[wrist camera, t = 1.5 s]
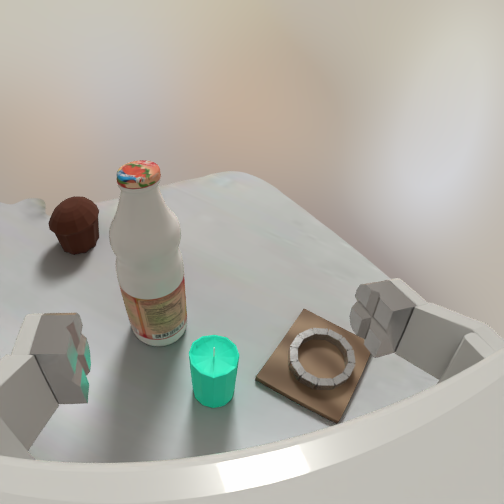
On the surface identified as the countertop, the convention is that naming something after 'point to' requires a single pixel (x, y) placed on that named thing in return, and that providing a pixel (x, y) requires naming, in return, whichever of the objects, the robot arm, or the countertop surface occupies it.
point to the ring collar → (311, 379)
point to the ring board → (315, 368)
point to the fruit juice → (148, 256)
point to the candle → (213, 369)
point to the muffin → (75, 224)
